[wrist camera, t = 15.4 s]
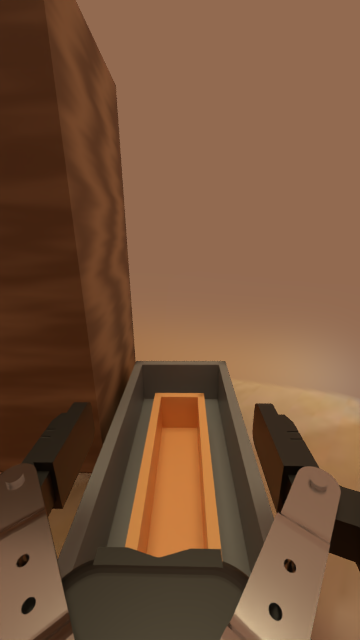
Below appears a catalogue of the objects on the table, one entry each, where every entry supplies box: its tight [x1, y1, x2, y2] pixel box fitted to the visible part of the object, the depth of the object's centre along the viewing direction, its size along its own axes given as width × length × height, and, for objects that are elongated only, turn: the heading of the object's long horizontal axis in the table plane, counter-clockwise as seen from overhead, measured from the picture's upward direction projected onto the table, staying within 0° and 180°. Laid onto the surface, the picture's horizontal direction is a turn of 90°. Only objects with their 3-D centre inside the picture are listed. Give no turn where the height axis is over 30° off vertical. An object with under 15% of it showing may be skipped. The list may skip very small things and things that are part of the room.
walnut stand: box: [0, 0, 136, 473], centre depth 23 cm, size 14×14×32 cm
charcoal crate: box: [58, 361, 311, 640], centre depth 18 cm, size 24×10×5 cm, turn 179°
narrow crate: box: [125, 393, 222, 557], centre depth 16 cm, size 18×4×4 cm, turn 179°
